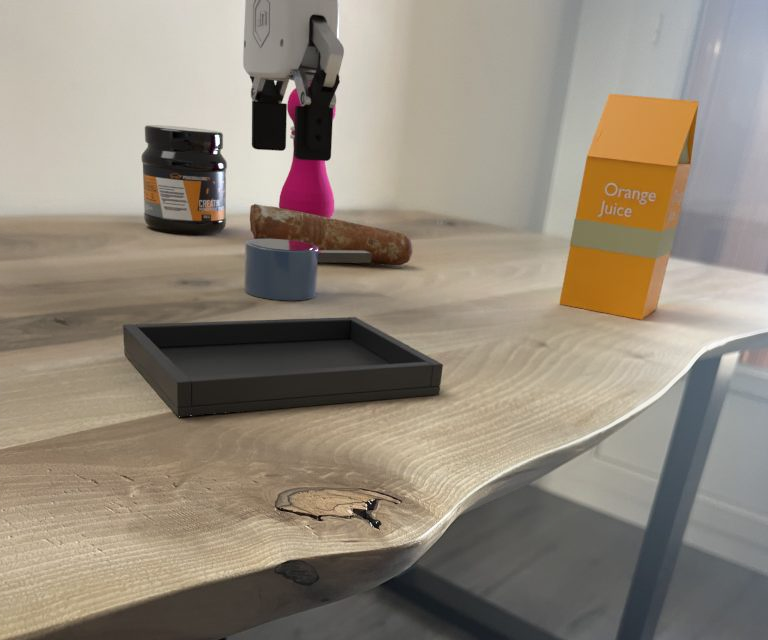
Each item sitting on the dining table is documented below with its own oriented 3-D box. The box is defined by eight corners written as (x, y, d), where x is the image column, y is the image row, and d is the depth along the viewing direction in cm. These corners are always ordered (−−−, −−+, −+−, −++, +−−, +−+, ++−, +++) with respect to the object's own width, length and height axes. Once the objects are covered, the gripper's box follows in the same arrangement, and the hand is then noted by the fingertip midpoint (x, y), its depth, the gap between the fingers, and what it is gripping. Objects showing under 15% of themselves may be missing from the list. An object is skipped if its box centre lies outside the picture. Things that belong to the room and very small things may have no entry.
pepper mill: (319, 247, 104) (329, 70, 95) (268, 239, 106) (273, 65, 97) (340, 241, 110) (351, 74, 102) (291, 233, 112) (298, 69, 103)
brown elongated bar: (249, 250, 97) (250, 200, 94) (407, 263, 100) (412, 215, 97) (247, 259, 91) (248, 207, 89) (414, 273, 94) (420, 222, 92)
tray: (177, 418, 46) (177, 382, 45) (124, 355, 56) (122, 324, 55) (439, 394, 54) (443, 364, 53) (353, 343, 64) (355, 316, 63)
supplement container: (168, 236, 100) (165, 129, 95) (129, 223, 107) (125, 122, 102) (241, 235, 107) (243, 135, 102) (201, 222, 114) (200, 127, 108)
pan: (259, 301, 74) (261, 250, 72) (234, 285, 79) (234, 237, 77) (381, 298, 80) (385, 251, 78) (349, 283, 85) (353, 239, 83)
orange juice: (579, 294, 92) (617, 96, 83) (657, 308, 88) (707, 103, 80) (558, 304, 86) (597, 90, 77) (642, 320, 82) (693, 99, 73)
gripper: (214, -74, 70) (217, 144, 77) (295, -105, 57) (288, 162, 64) (295, -59, 73) (290, 148, 81) (389, -85, 60) (372, 166, 68)
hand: (289, 154), depth 73 cm, fingers open, 9 cm apart
